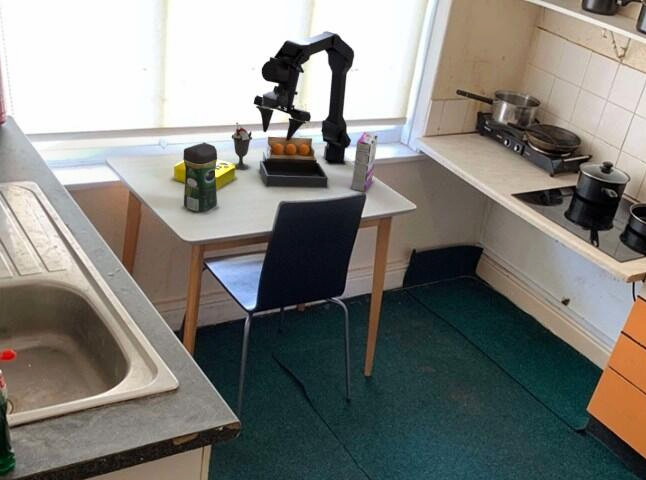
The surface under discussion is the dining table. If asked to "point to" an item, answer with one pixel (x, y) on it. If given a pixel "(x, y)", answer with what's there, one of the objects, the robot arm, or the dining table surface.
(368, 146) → the candy bar box
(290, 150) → the orange ball
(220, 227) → the dining table surface
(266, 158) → the stand
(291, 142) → the wooden box
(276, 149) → the orange ball
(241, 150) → the sundae
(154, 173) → the dining table surface
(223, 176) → the yellow flat box
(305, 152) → the orange ball
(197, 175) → the coffee jar
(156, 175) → the dining table surface
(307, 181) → the dark grey tray
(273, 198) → the dining table surface
